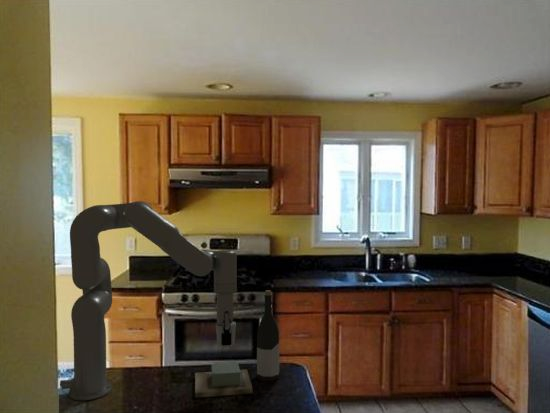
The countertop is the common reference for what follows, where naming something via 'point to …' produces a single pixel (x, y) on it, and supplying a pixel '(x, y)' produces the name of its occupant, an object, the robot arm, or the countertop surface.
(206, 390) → the board
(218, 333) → the grey tapered cup
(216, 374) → the sage block
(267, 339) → the wine bottle
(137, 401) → the countertop surface
